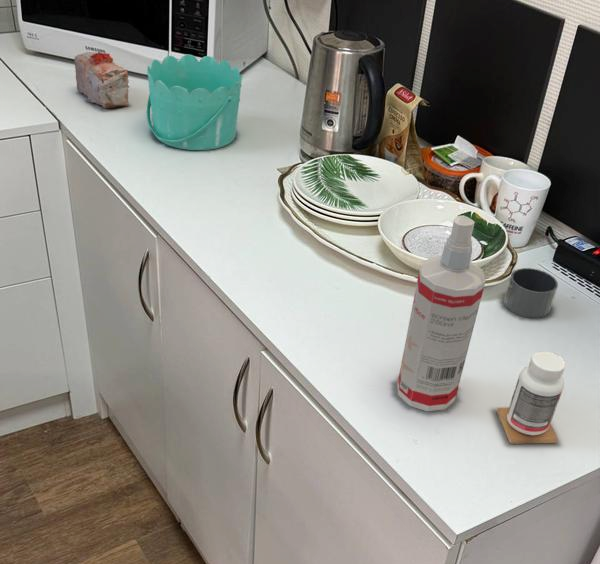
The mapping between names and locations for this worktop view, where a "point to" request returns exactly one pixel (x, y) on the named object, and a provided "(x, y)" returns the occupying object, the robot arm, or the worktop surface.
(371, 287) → the worktop surface
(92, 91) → the food item
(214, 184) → the worktop surface
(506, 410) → the brown wooden square tile
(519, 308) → the tin
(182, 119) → the basket
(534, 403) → the pill bottle
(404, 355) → the spray bottle
